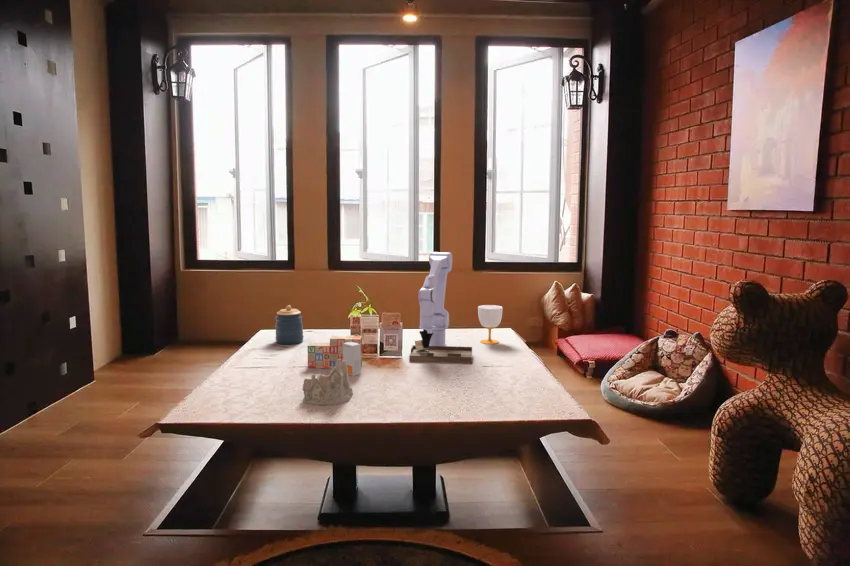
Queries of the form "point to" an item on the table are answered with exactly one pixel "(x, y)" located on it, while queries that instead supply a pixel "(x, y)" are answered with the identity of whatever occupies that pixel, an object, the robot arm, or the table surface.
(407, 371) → the table surface
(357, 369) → the skincare box
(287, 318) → the canister
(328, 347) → the stack of blocks
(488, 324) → the cup
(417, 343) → the maple block
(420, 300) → the robot arm
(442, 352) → the trap box
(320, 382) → the ceramic cottage
